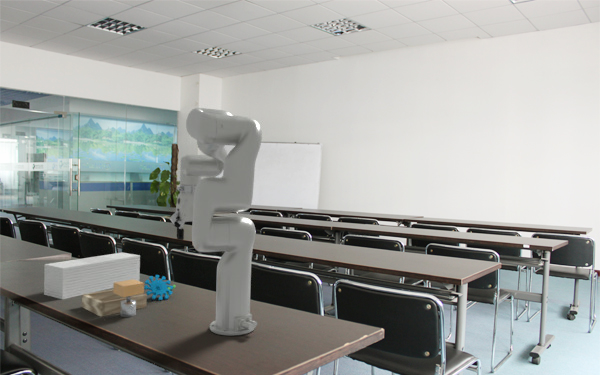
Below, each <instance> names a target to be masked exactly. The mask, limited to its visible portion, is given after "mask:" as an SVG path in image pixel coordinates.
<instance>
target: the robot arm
mask: <svg viewBox="0 0 600 375" xmlns="http://www.w3.org/2000/svg"><path fill="white" fill-rule="evenodd" d="M186 117H187V118H186V122H185V128H186V131H187V133H188V135H189V136H190V137H191V138H193V139H194V140H196V145H197V148H198V149H199V151H201V153H203V154H186V155H185V156H182V157H181V159H180V176H179V186H178V187H177V191H179V193H178V195H177V198H176V204H175V206H176V207H175V212H174V213H173V214H172V215H171V216H170V217H169V220H170V221H171V223H172V225H173V226H174V227H175V229H176V239H177V240H180V241H184V239H185V235H184V234H185V230H184V225H185V223H187V222H190V223H191V222H192V226H191V242H192V246H193V248H194V249H195V251H197V252H200V253H213V252H214V253H216V252H224V253H222V255H221V257H220V259H219V261H218V263H217V267H216V288H215V289H216V292H215V294H216V296H215V320H213V321H212V322H210V323H209V330H210V331H211V332H212V333H214V334H217V335H221V336H232V337H233V336H242V335H246V334H249V333H251V332H253V331H254V330H255V329H256V327H257V326H258V322H257V321H255V320H253V314H252V313H251V286H252V284H251V282H252V281H251V280H252V279H251V278H252V257H253V249H254V245H255V241H256V240H255V239H256V232H257V231H256V227H255V224H254V222H253V220H251V219H250V218H248V217H246V216H239V215H238V216H237V215H232V216H231V215H229V216H224V215H223V216H214V215H215V214H216V213H241V212H246V211H248V210H249V209H250V208H251V207H252V203H253V196H254V182H255V171H256V170H255V167H256V162H257V157H258V156H259V155H258V154H259V152H260V148H261V145H262V138H263V137H262V135H263V132H262V127H261V125H260V123H259V122H258V121H257V120H256V119H253V118H251V117H247V116H241V115H233V114H232V113H231V112H229V111H226V110H223V109H213V108H206V107H195V108H193V109H192V110H190V111H189V113H188V114H187V116H186ZM225 146H232V148H231V150H230V151H229V152H228V151H227V148H226V147H225ZM233 146H234V147H233ZM222 172H223V173H222ZM221 174H222V176H221V177H219V176H220V175H221ZM202 177H203V178H202Z"/></svg>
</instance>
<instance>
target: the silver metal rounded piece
mask: <svg viewBox="0 0 600 375" xmlns="http://www.w3.org/2000/svg"><path fill="white" fill-rule="evenodd" d="M119 314H120V317H123V318H132V317H134V316H136V315H137V309H136V301H135V300H131V296H127V297H126V300H124V301H121V311H120V313H119Z"/></svg>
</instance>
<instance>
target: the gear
mask: <svg viewBox="0 0 600 375" xmlns="http://www.w3.org/2000/svg"><path fill="white" fill-rule="evenodd" d="M159 278H160V274H155V276H153V275H150V276H149V277H148V279H146V280H145V281H144V291H145V290H147V291H146V293H145V294H146V295H147V296H150V295H152V296H151V299H152V300H156V297H157V296H159V297H158V299H157V300H158V301H160V300H162V301H163V299H164V300H168V299H169V296H172V294H173V290H175V288H176V284H173V285H171V280H170V279H168V280H166V276H164V275H162V276H161V279H159ZM154 279H155V280H154ZM165 280H166V281H165ZM163 295H164V297H163Z"/></svg>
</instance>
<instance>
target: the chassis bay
mask: <svg viewBox="0 0 600 375" xmlns="http://www.w3.org/2000/svg"><path fill="white" fill-rule="evenodd" d="M147 299H148V295H147V293H144V294H138V295H133V296H131V300H135V301H136V310H139V309H145V308H147V303H148V302H147ZM124 300H126V297H122V296H119V295H117V294H115V293H113V288H111V289H106V290H101V291H97V292H92V293H88V294H82V295H81V308H83V309H84V310H87V311H89V312H91V313H92V314H95V315H96V316H98V317H100V318H101V317H106V316H110V315H115V314H120V311H121V301H124Z"/></svg>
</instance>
